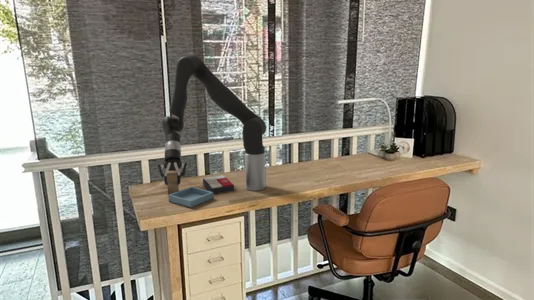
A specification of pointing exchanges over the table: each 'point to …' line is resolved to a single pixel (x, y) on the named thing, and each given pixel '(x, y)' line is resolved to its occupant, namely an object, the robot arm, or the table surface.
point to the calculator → (218, 184)
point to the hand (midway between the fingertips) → (172, 184)
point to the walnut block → (172, 182)
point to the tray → (191, 196)
